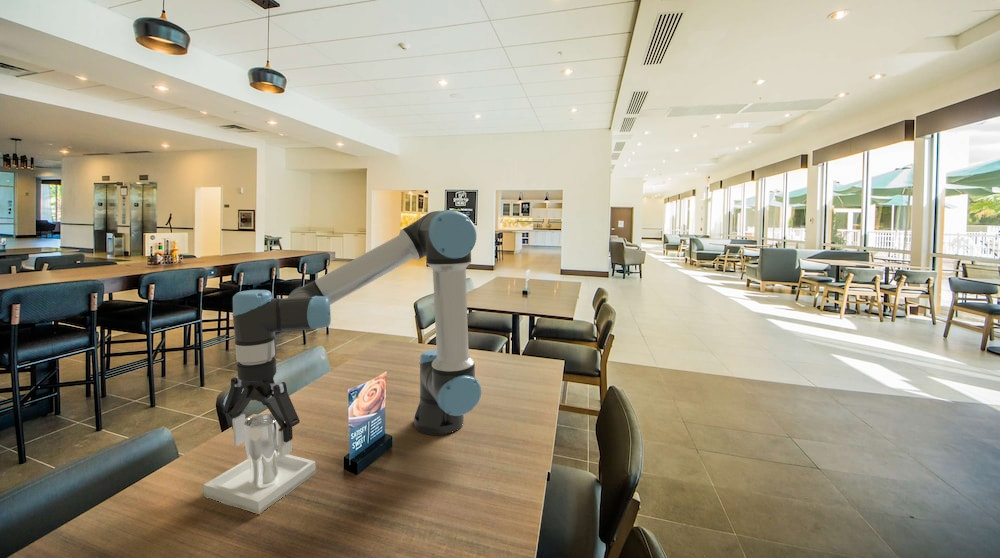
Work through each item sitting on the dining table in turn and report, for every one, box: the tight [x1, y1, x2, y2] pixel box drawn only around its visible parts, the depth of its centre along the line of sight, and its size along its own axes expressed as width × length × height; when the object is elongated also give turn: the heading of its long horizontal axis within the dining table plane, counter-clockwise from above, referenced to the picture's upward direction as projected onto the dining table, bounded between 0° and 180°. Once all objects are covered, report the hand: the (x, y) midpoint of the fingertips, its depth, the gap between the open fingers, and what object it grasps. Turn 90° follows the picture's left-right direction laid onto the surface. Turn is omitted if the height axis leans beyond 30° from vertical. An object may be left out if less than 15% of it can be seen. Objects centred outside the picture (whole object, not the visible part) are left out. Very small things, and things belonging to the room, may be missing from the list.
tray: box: [202, 451, 317, 513], centre depth 96 cm, size 16×16×3 cm
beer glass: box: [243, 413, 280, 489], centre depth 95 cm, size 7×7×15 cm
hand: (262, 448), depth 96 cm, fingers open, 13 cm apart
